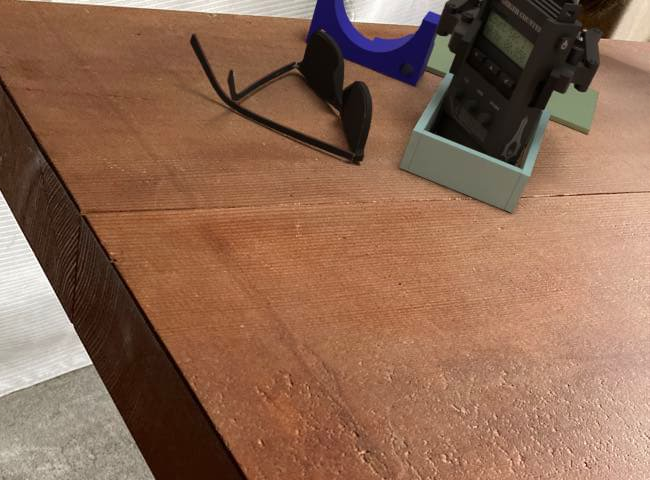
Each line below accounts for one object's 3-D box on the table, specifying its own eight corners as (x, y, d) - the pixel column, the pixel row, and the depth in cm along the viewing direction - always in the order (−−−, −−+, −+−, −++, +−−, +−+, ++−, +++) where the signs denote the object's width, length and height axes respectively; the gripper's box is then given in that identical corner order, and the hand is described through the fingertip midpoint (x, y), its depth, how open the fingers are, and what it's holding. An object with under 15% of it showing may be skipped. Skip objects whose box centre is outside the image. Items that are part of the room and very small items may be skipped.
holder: (535, 145, 96) (551, 111, 93) (512, 213, 85) (530, 176, 82) (434, 105, 97) (448, 70, 94) (398, 167, 85) (413, 129, 83)
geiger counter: (416, 122, 92) (482, -50, 82) (453, 123, 95) (523, -45, 84) (476, 183, 87) (555, 7, 76) (514, 183, 89) (597, 11, 78)
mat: (597, 96, 109) (599, 91, 109) (587, 134, 101) (590, 129, 101) (430, 30, 111) (432, 26, 110) (407, 63, 102) (409, 58, 102)
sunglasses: (169, 56, 89) (179, -1, 86) (312, 74, 95) (328, 20, 91) (216, 152, 79) (230, 91, 76) (374, 166, 85) (394, 110, 81)
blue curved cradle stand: (424, 72, 102) (446, 12, 97) (415, 86, 99) (437, 24, 94) (318, 30, 103) (335, -32, 98) (305, 42, 100) (322, -21, 95)
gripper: (613, 77, 99) (594, 163, 83) (429, 4, 100) (375, 75, 84) (653, -2, 93) (641, 75, 77) (458, -77, 95) (406, -18, 79)
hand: (503, 75), depth 81 cm, fingers closed on geiger counter, 7 cm apart
